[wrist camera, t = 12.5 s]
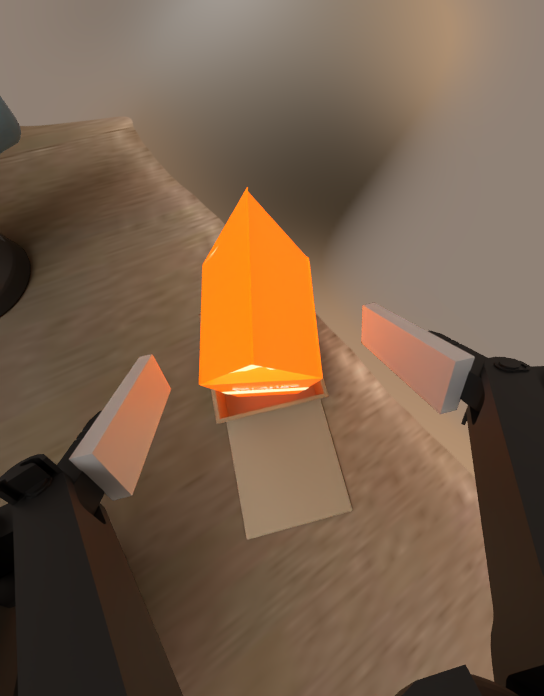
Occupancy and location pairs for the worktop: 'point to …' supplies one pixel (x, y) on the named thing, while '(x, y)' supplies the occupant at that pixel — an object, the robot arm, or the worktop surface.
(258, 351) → the orange juice
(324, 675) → the worktop surface
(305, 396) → the kraft mailer box
